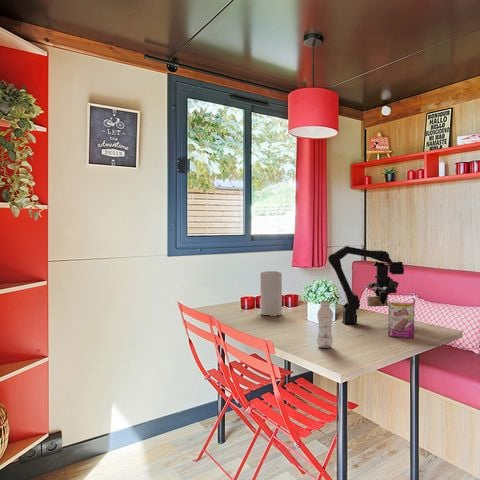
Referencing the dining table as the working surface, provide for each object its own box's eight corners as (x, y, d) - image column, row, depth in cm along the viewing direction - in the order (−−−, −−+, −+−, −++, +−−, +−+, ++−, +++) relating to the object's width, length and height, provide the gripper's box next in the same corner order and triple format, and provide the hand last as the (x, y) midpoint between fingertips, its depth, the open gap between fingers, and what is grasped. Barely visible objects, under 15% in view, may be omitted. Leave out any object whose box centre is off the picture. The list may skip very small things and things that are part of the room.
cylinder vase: (282, 316, 216) (282, 273, 215) (261, 316, 216) (260, 273, 215) (280, 311, 229) (280, 271, 228) (260, 311, 229) (260, 271, 228)
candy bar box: (388, 336, 176) (388, 302, 175) (387, 333, 181) (388, 300, 180) (414, 339, 172) (414, 303, 172) (413, 335, 177) (413, 301, 177)
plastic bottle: (315, 345, 164) (315, 300, 164) (330, 344, 165) (330, 299, 164) (319, 350, 158) (319, 303, 157) (335, 349, 159) (335, 302, 158)
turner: (371, 307, 194) (371, 297, 194) (366, 304, 200) (366, 295, 200) (401, 306, 196) (402, 296, 196) (395, 303, 202) (395, 294, 202)
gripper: (406, 276, 189) (406, 306, 190) (387, 271, 208) (387, 299, 208) (385, 276, 188) (385, 307, 188) (368, 272, 206) (368, 300, 207)
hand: (381, 303), depth 198 cm, fingers closed on turner, 2 cm apart
